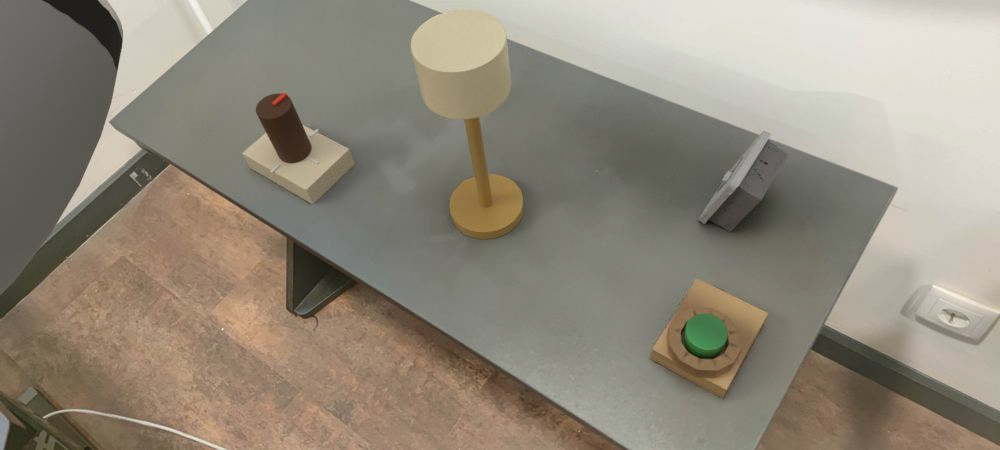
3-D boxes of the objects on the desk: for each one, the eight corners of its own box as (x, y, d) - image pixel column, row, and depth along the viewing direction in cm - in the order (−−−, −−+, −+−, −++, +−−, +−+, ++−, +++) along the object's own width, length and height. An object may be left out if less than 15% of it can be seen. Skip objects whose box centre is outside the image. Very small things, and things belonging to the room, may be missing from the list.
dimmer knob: (294, 168, 89) (271, 121, 82) (271, 155, 90) (246, 108, 84) (318, 146, 91) (298, 99, 84) (295, 133, 92) (273, 86, 86)
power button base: (721, 402, 69) (727, 386, 66) (648, 362, 72) (651, 344, 69) (764, 323, 74) (772, 304, 70) (693, 288, 77) (698, 268, 74)
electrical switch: (729, 171, 86) (751, 121, 78) (769, 190, 84) (795, 141, 77) (695, 224, 82) (715, 176, 74) (736, 245, 80) (761, 198, 72)
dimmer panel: (311, 206, 89) (303, 190, 86) (248, 169, 94) (239, 153, 91) (356, 162, 93) (350, 146, 90) (294, 129, 97) (286, 113, 95)
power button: (714, 365, 67) (717, 357, 66) (676, 345, 69) (678, 336, 68) (731, 334, 69) (735, 325, 68) (694, 315, 71) (696, 306, 69)
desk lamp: (495, 251, 82) (467, 84, 61) (436, 219, 86) (390, 51, 65) (538, 199, 86) (525, 27, 65) (479, 171, 90) (449, -1, 69)
